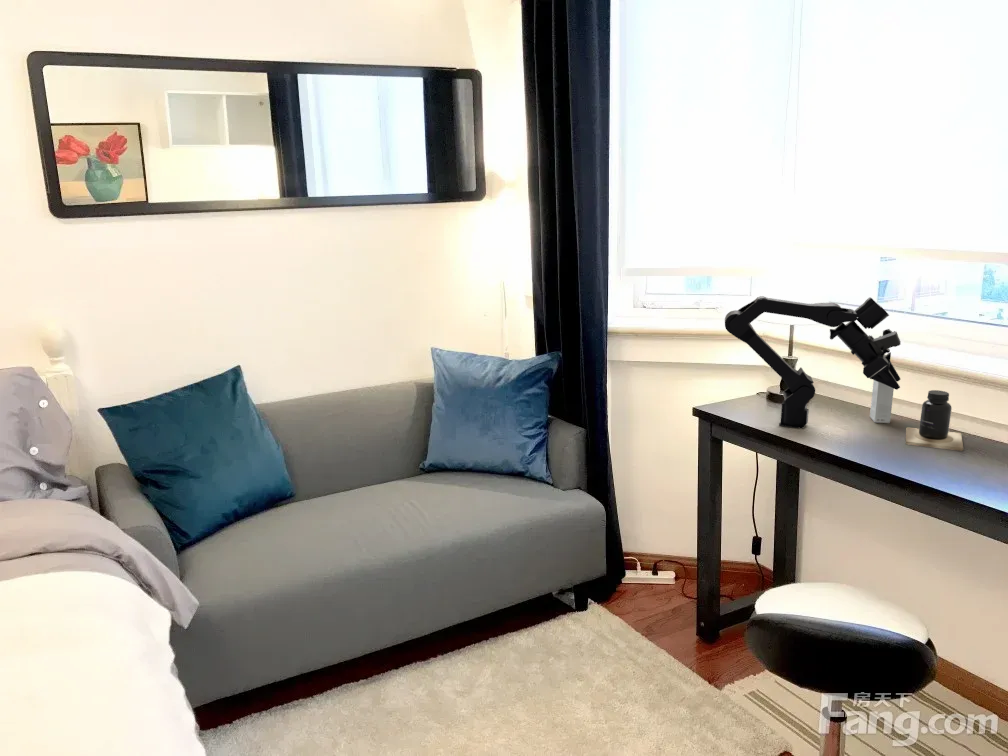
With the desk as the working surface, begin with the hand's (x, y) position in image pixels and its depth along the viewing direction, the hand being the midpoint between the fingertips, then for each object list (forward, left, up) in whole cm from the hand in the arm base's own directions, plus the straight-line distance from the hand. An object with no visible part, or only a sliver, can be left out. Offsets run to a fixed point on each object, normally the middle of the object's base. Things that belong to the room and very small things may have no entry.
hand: (898, 384), depth 213 cm
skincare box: (-4, +11, -14) cm, 18 cm away
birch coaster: (+10, -2, -14) cm, 17 cm away
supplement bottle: (+9, -2, -13) cm, 16 cm away
